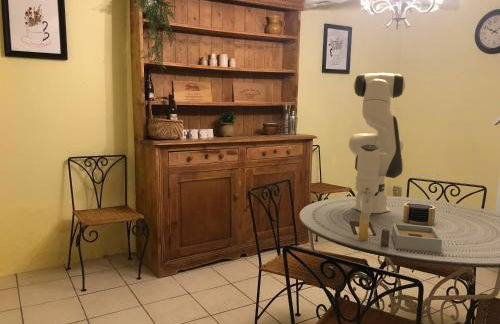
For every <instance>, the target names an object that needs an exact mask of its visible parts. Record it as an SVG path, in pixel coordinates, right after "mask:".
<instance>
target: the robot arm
mask: <svg viewBox="0 0 500 324" xmlns="http://www.w3.org/2000/svg"><path fill="white" fill-rule="evenodd" d="M405 88H406V81H405V78H404V76H403V75H402V74H399V73H395V74H394V73H389V72H387V73H386V72H378V73H377V72H376V73H375V72H374V73H361V74H358V75H357V76H356V77H355V80H354V82H353V90H354V93H355V95H356V96H357V97H361V98H363V100H362V110H361V111H362V116H363V119H364V120H365V123H366V124H367V126H369V127H370V128H372V129H374V130H375V131H376V132H377V133H375V132H374V133H371V132H369V133H368V132H359V133H354V134H352V135H351V137H350V138H349V141H348V147H349V148H348V149H349V150H350V151H351V152H352V154H353V155H355V161H354V162H355V163H354V164H355V165H354V169H355V170H356V172H357V173H356V176H355V187H354V189H355V191H357V192H356V193H355V202H354V203H353V204H352V205H351V209H354V210H356V211H357V210H358V211H359V212H360V214H363V221H362V222H363V224H367V221H368V215H369V216H371V214H384V213H387V212H388V213H389V212H390V211H391V209H390V208H389V207H388V206H387V204H388V194H386V193H385V188H386V183H385V177H386V178H390V179H395V178H396V179H397V178H398V177H399V176H401V175H402V174H403V171H404V160H403V156H402V151H403V148H404V142H403V139H402V138H401V136H400V132H399V125H398V120H397V117H396V116H394V115H393V114H392V111H391V103H392V102H391V100H392V99H391V98H393V99H395V98H399V97H400V96H402V95H403V93H404V91H405Z"/></svg>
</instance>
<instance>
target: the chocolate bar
mask: <svg viewBox="0 0 500 324" xmlns="http://www.w3.org/2000/svg"><path fill="white" fill-rule="evenodd" d="M359 223H360V220H349V224H350V227H351V230H352V232H353V235H358V236H359ZM368 236H374V237H376V236H377V233H376V232H375V230H374V228H373V226H372V224H371V222H370V221H369V227H368Z"/></svg>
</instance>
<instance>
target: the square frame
mask: <svg viewBox="0 0 500 324" xmlns="http://www.w3.org/2000/svg"><path fill="white" fill-rule="evenodd" d="M391 229H392V230H391V236H392V240H393V242H394V246H395V249H401V250H412V251H420V252H429V251H431V252H430V253H438V254H441V253H442V245H443V244H442V243H443V239H442V237H441V236H440V234H439V232H438V231H437V229H436V228H435V227H434V226H426V225H416V224H415V225H414V224H404V223H394V222H393V223H392V228H391Z"/></svg>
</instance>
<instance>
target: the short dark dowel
mask: <svg viewBox="0 0 500 324" xmlns="http://www.w3.org/2000/svg"><path fill="white" fill-rule="evenodd" d="M390 233H391V232H390V230H389V229H386V228H382V229H381V233H380V236H381V237H380V238H381V239H380V246H382V247H385V248H386V247H389V243H390Z"/></svg>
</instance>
